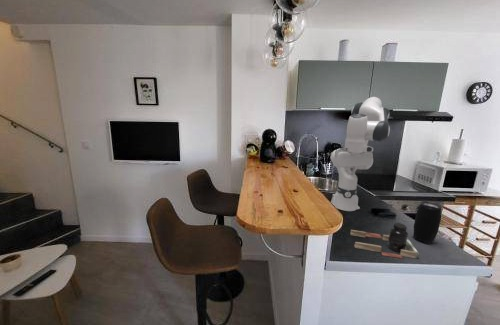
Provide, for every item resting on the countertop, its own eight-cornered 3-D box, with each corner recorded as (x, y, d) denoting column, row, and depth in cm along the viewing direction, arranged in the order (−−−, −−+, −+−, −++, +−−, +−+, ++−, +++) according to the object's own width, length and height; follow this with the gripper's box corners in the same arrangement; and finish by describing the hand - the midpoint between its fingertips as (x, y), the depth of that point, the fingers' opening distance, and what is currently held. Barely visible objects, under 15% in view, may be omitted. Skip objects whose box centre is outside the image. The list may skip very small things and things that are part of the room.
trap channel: (349, 230, 114) (349, 226, 114) (403, 238, 107) (404, 234, 107) (355, 250, 97) (356, 245, 97) (420, 262, 90) (422, 257, 90)
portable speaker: (408, 233, 112) (415, 199, 108) (429, 237, 109) (437, 202, 105) (415, 242, 104) (423, 206, 100) (438, 246, 101) (447, 209, 97)
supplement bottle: (389, 241, 104) (393, 219, 101) (405, 248, 100) (410, 225, 97) (385, 247, 100) (390, 225, 97) (403, 254, 95) (408, 231, 92)
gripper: (339, 149, 98) (336, 177, 101) (376, 148, 102) (372, 175, 106) (331, 147, 104) (329, 174, 107) (366, 146, 108) (363, 171, 112)
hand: (350, 174), depth 107 cm, fingers closed
